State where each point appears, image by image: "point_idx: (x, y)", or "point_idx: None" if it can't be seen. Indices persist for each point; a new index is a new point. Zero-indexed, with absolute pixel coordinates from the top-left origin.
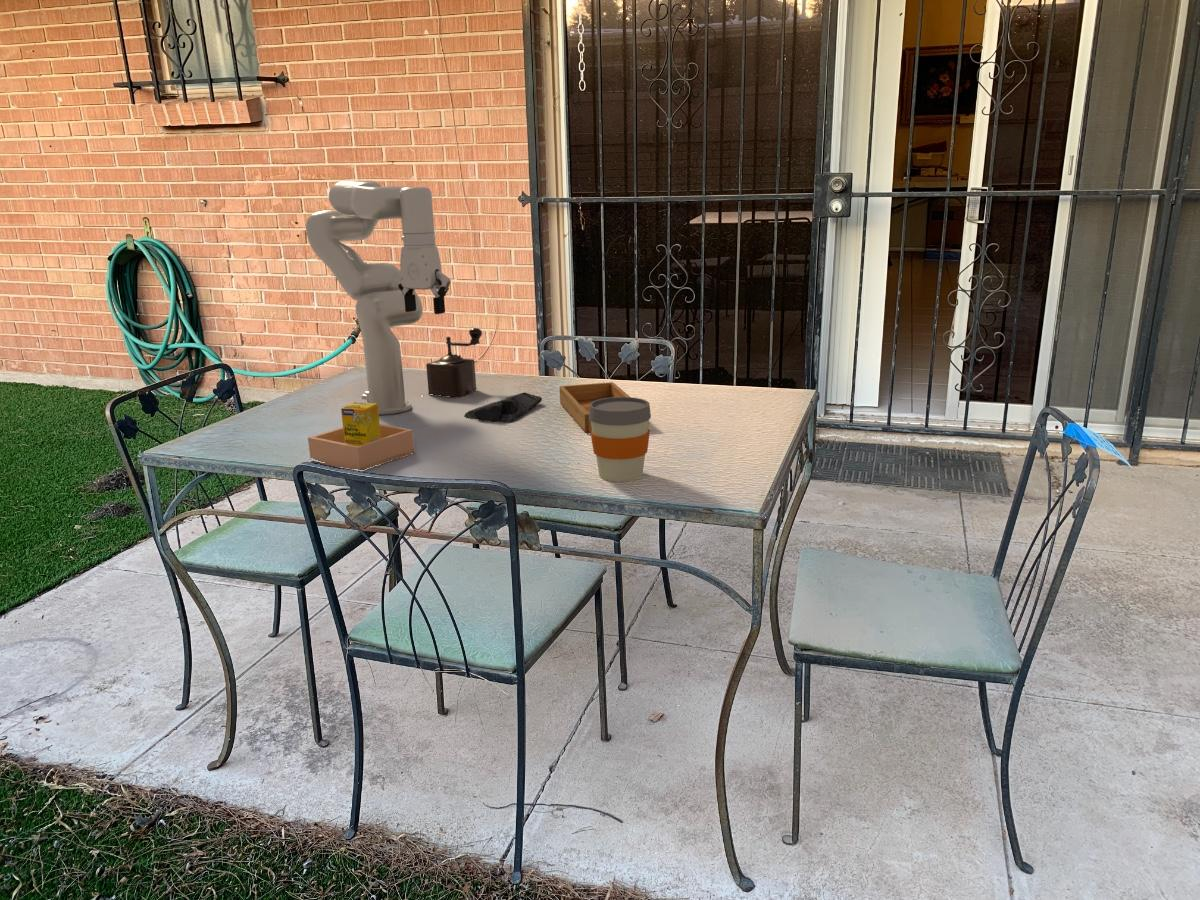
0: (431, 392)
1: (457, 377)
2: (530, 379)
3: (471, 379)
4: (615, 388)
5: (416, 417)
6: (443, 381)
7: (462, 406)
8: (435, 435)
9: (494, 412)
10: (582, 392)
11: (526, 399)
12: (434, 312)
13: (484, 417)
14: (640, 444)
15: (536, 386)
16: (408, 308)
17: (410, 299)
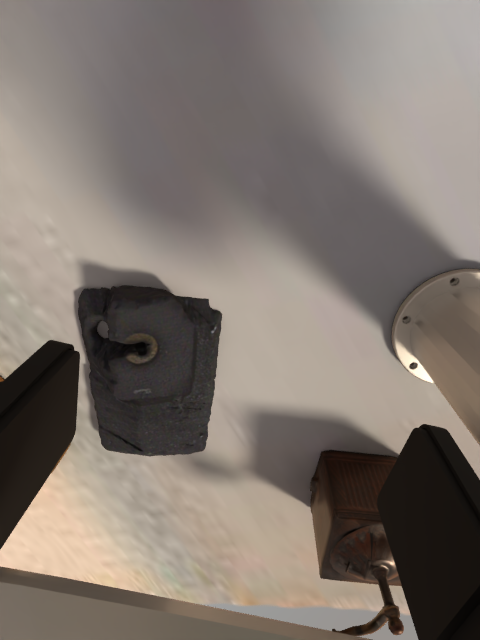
0: None
1: (329, 493)
2: (242, 586)
3: (316, 519)
4: None
5: (338, 275)
6: (368, 482)
7: (273, 390)
8: (191, 119)
9: (112, 296)
10: None
11: (113, 417)
12: (65, 348)
13: (146, 290)
14: None
15: (201, 547)
16: (422, 453)
17: (441, 558)
